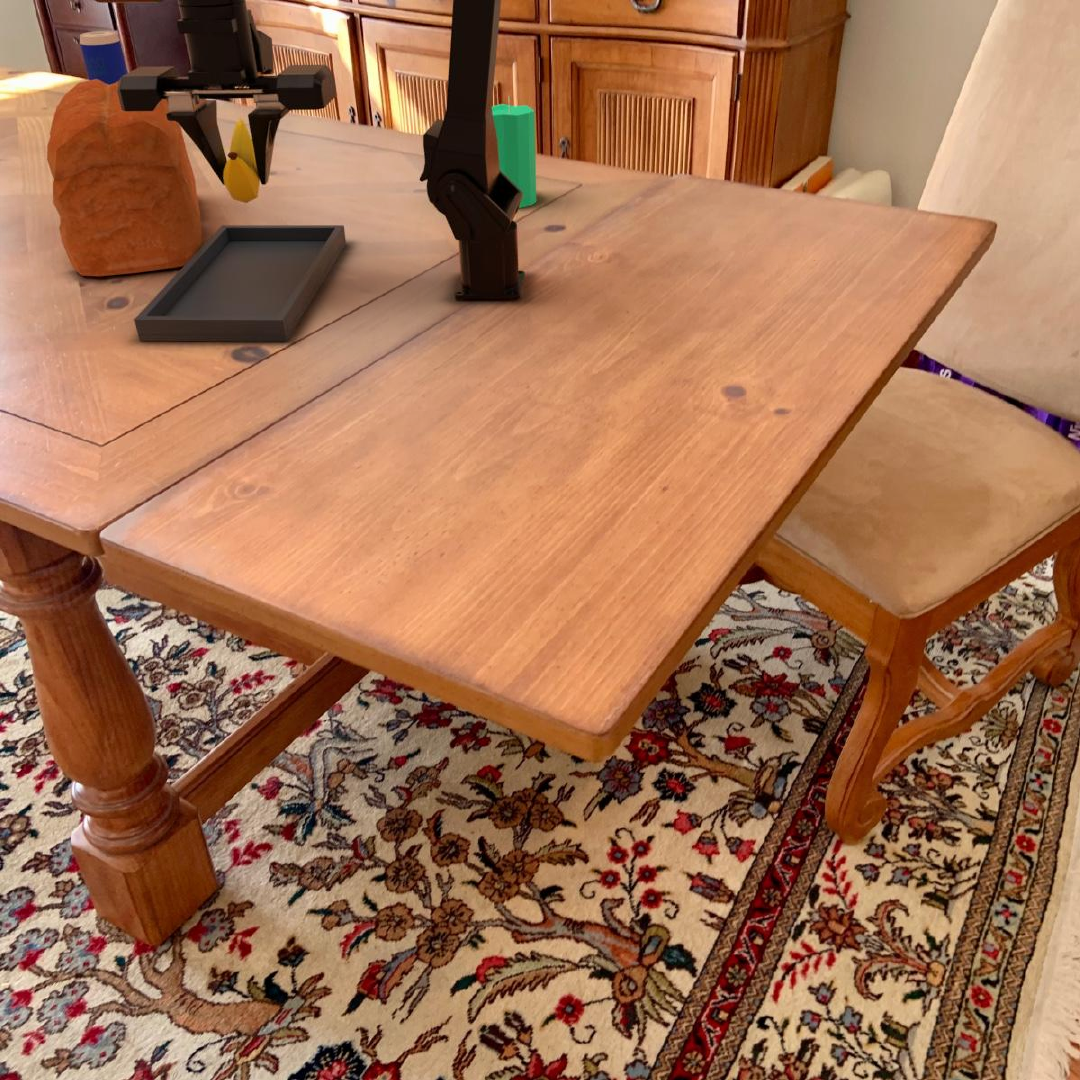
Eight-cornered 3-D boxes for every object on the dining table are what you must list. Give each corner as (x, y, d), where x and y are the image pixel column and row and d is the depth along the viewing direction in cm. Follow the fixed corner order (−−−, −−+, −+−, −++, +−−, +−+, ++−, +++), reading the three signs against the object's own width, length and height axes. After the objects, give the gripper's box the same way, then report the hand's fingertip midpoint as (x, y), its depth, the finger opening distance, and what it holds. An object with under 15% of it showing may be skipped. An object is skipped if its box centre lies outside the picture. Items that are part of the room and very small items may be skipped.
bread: (69, 283, 104) (23, 129, 96) (81, 207, 125) (44, 74, 117) (210, 266, 108) (177, 115, 99) (199, 194, 129) (171, 64, 120)
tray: (286, 341, 92) (282, 319, 91) (139, 340, 93) (133, 319, 91) (346, 243, 113) (343, 225, 111) (225, 243, 113) (221, 225, 112)
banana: (263, 167, 107) (253, 103, 103) (261, 225, 92) (249, 151, 88) (234, 169, 106) (223, 104, 103) (228, 227, 91) (215, 153, 87)
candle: (531, 209, 121) (528, 102, 114) (482, 207, 122) (476, 100, 115) (541, 194, 126) (539, 90, 119) (494, 192, 127) (489, 89, 120)
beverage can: (105, 146, 149) (76, 32, 140) (142, 141, 150) (115, 29, 142) (109, 154, 145) (79, 38, 136) (146, 149, 147) (119, 34, 138)
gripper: (337, -13, 95) (358, 160, 104) (143, -10, 96) (180, 161, 105) (308, 6, 86) (334, 193, 95) (94, 9, 87) (139, 193, 96)
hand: (246, 183), depth 98 cm, fingers closed on banana, 3 cm apart
